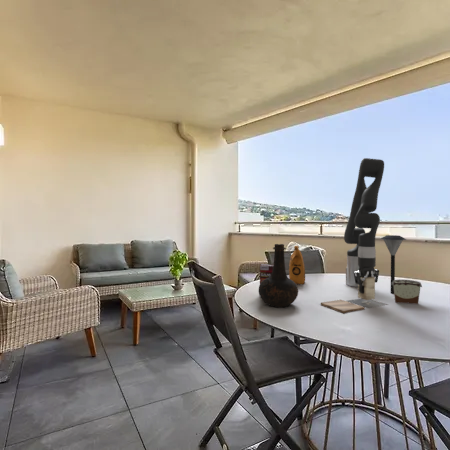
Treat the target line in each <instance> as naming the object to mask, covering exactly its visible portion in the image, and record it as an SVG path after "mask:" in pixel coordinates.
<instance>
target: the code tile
mask: <svg viewBox="0 0 450 450" xmlns="http://www.w3.org/2000/svg"><path fill="white" fill-rule="evenodd" d="M346 301H347V302H350V303H353V304H356V305H359V306H362V307H365V308H367V309H371V308H377V307H382V306H383V307H385V306H389V304H388V303H386V302H380V301H378V300H375V299H370V300H365V299H361V298H356V299H350V300H346Z"/></svg>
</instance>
